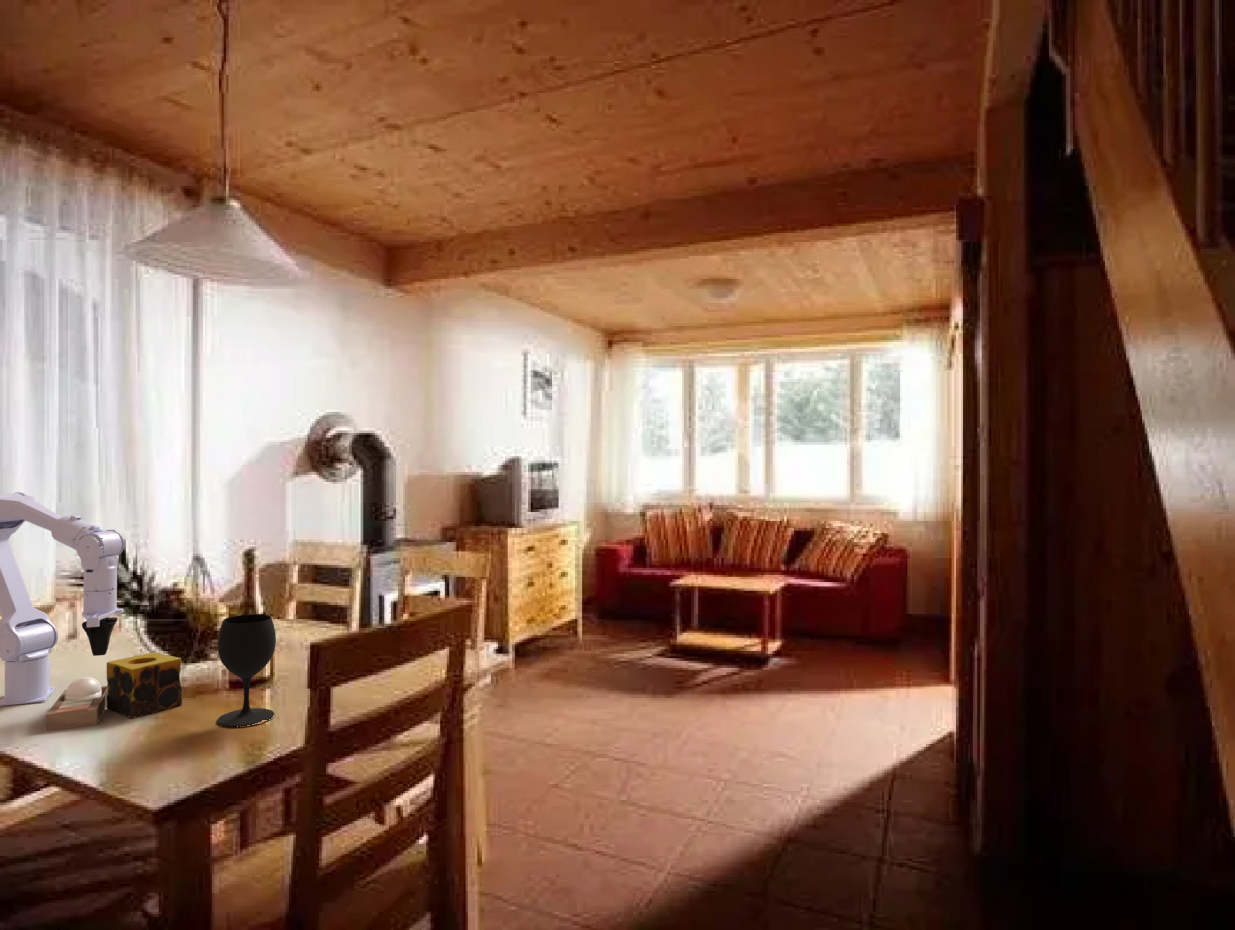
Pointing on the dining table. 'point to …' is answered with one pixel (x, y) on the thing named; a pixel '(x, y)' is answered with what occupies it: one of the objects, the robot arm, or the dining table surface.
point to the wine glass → (246, 660)
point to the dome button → (84, 689)
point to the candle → (143, 684)
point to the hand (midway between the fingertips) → (99, 654)
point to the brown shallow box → (76, 711)
